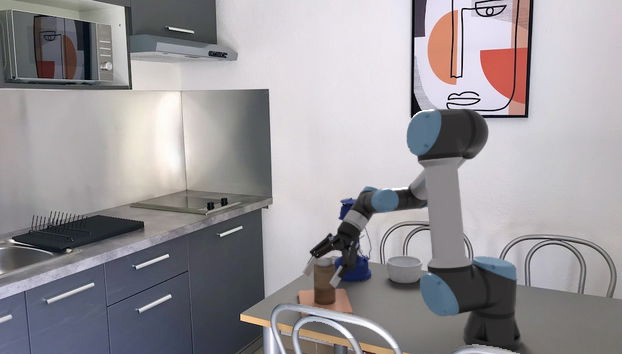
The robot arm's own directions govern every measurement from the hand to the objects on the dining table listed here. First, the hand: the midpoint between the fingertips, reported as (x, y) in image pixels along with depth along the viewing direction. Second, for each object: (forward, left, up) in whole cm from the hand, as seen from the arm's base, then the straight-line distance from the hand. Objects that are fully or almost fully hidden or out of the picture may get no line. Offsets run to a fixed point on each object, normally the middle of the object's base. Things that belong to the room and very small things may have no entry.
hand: (318, 279), depth 172 cm
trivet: (+1, -2, -9) cm, 9 cm away
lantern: (+29, -15, -9) cm, 34 cm away
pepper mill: (+1, -2, -8) cm, 8 cm away
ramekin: (+23, -34, -9) cm, 42 cm away
